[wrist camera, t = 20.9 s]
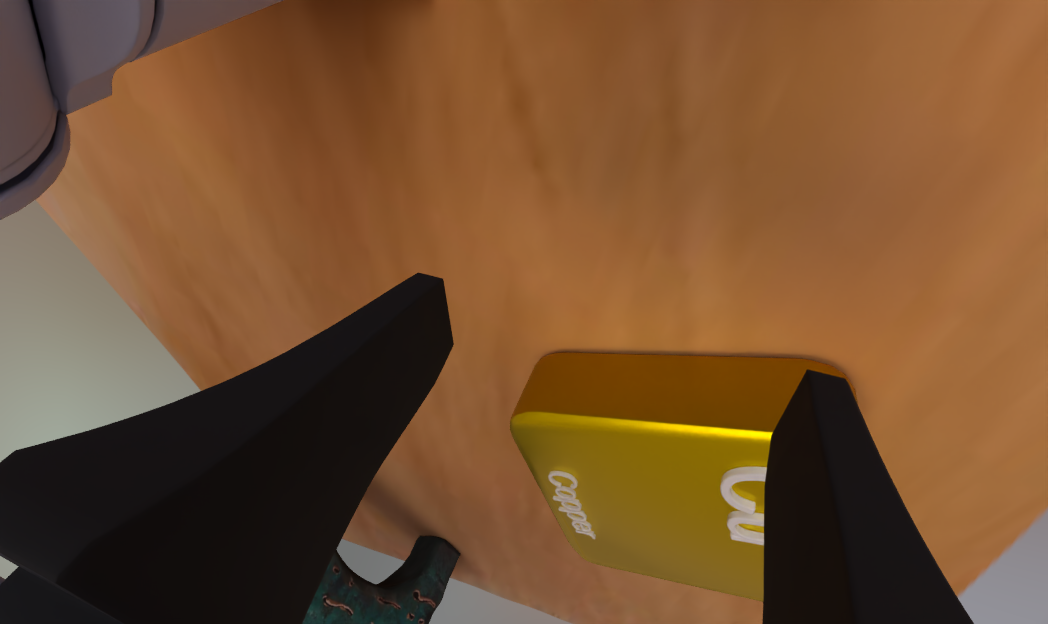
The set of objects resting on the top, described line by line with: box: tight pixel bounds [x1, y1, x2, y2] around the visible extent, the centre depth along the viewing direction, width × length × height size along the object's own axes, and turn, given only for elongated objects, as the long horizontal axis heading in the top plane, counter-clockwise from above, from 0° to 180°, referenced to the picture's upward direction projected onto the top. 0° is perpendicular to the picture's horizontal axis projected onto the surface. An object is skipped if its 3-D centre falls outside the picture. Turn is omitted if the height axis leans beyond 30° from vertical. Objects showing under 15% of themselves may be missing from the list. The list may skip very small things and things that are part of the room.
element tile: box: [510, 352, 857, 602], centre depth 27 cm, size 15×15×5 cm
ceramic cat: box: [302, 536, 460, 624], centre depth 45 cm, size 20×6×20 cm, turn 35°
